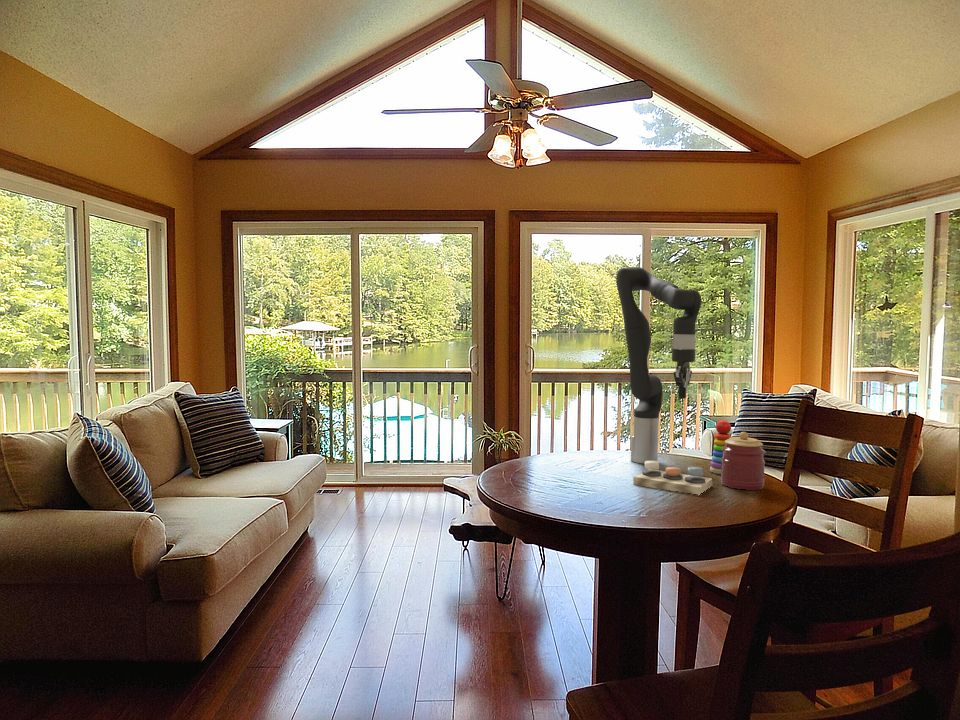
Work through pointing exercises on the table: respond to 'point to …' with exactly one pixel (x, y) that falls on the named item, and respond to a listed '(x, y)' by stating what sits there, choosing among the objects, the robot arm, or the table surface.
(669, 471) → the terracotta button
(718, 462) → the stacking toy
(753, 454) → the canister
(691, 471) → the slate button
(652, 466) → the ivory button
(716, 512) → the table surface
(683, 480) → the button panel
